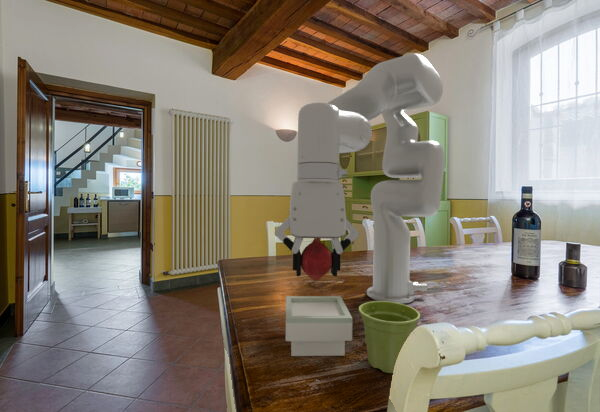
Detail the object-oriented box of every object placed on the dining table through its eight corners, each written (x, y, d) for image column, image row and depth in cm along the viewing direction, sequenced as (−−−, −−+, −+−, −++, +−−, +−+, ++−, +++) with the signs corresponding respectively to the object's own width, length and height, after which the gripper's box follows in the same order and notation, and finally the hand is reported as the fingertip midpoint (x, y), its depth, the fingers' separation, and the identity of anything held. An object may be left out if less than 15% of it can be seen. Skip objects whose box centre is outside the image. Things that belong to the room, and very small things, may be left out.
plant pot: (351, 349, 53) (352, 300, 53) (403, 348, 54) (404, 299, 53) (367, 382, 43) (369, 323, 43) (430, 379, 44) (431, 321, 44)
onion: (330, 286, 51) (331, 239, 51) (297, 284, 52) (297, 238, 52) (333, 277, 57) (334, 235, 57) (303, 275, 58) (304, 234, 58)
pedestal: (340, 329, 61) (340, 296, 61) (351, 358, 50) (352, 318, 50) (285, 329, 60) (286, 296, 60) (285, 359, 49) (285, 318, 49)
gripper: (360, 177, 58) (358, 270, 59) (271, 175, 58) (269, 269, 58) (370, 174, 51) (368, 280, 51) (268, 172, 50) (267, 279, 50)
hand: (316, 273), depth 55 cm, fingers closed on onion, 5 cm apart
